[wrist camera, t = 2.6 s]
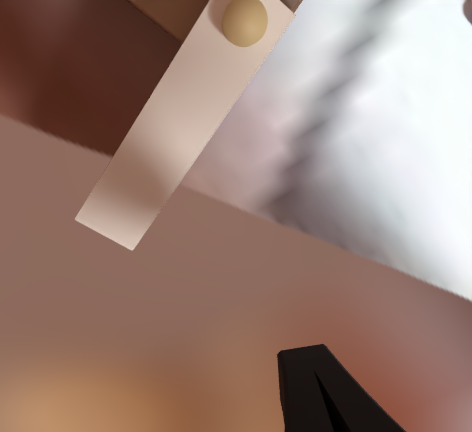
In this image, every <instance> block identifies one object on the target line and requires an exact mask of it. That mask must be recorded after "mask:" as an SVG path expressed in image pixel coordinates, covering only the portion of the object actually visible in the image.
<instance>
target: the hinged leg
mask: <svg viewBox="0 0 472 432" xmlns="http://www.w3.org/2000/svg"><path fill="white" fill-rule="evenodd" d="M295 16H296V15H295V14H294V13H293V12H292V11H291V10H290V9H289V8H288V7H286V6H285V5H284V4H283V3H282V2H281V1H280V0H210V1H209V2H208V4H207V5H206V7H205V9H204V10H203V12H202V14H201V15H200V17H199V18H198V20H197V22H196V23H195V25H194V27H193V28H192V30H191V31H190V33H189V35H188V36H187V38H186V40H185V41H184V43H183V44H182V46H181V48H180V49H179V51H178V52H177V54H176V56H175V57H174V59H173V61H172V62H171V64H170V65H169V67H168V69H167V70H166V72H165V74H164V75H163V77H162V78H161V80H160V82H159V83H158V85H157V87H156V88H155V90H154V91H153V93H152V95H151V96H150V98H149V100H148V101H147V103H146V104H145V106H144V108H143V109H142V111H141V113H140V114H139V116H138V117H137V119H136V121H135V122H134V124H133V125H132V127H131V129H130V130H129V132H128V134H127V135H126V137H125V138H124V140H123V142H122V143H121V145H120V147H119V148H118V150H117V151H116V153H115V155H114V156H113V158H112V160H111V161H110V163H109V164H108V166H107V168H106V169H105V171H104V173H103V174H102V176H101V177H100V179H99V181H98V182H97V184H96V186H95V187H94V189H93V191H92V192H91V194H90V195H89V197H88V199H87V200H86V202H85V203H84V205H83V207H82V208H81V210H80V211H79V213H78V215H77V216H76V218H75V220H76V221H78V222H80V223H82V224H84V225H86V226H87V227H89V228H91V229H93V230H95V231H97V232H99V233H100V234H102V235H104V236H106V237H108V238H110V239H111V240H113V241H115V242H117V243H119V244H121V245H123V246H124V247H126V248H128V249H130V250H132V251H133V250H134V248H135V247H136V245H137V244H138V242H139V241H140V239H141V238H142V237H143V235H144V234H145V232H146V231H147V229H148V228H149V226H150V225H151V224H152V222H153V220H154V219H155V218H156V216H157V215H158V213H159V212H160V211H161V209H162V207H163V206H164V205H165V203H166V202H167V200H168V199H169V198H170V196H171V195H172V193H173V192H174V190H175V189H176V187H177V186H178V185H179V183H180V182H181V180H182V179H183V177H184V176H185V174H186V173H187V172H188V170H189V169H190V167H191V166H192V164H193V163H194V161H195V160H196V159H197V157H198V156H199V154H200V153H201V151H202V150H203V148H204V147H205V146H206V144H207V143H208V141H209V140H210V138H211V137H212V135H213V134H214V133H215V131H216V130H217V128H218V127H219V125H220V124H221V122H222V121H223V120H224V118H225V117H226V115H227V114H228V112H229V111H230V109H231V108H232V107H233V105H234V104H235V102H236V101H237V99H238V98H239V96H240V95H241V94H242V92H243V91H244V89H245V88H246V86H247V85H248V83H249V82H250V81H251V79H252V78H253V76H254V75H255V73H256V72H257V70H258V69H259V68H260V66H261V65H262V63H263V62H264V60H265V59H266V57H267V56H268V55H269V53H270V52H271V50H272V49H273V47H274V46H275V44H276V43H277V42H278V40H279V39H280V37H281V36H282V34H283V33H284V31H285V30H286V29H287V27H288V26H289V24H290V23H291V21H292V20H293V18H294V17H295Z"/></svg>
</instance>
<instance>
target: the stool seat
mask: <svg viewBox="0 0 472 432" xmlns="http://www.w3.org/2000/svg"><path fill="white" fill-rule="evenodd" d="M127 1H129V2H130V3H131V4H132V5H134V6H135V7H136V8H138V9H139V10H140V11H141V12H143V13H144V14H145V15H146V16H148V17H149V18H150V19H151V20H153V21H154V22H155V23H157V24H158V25H159V26H160V27H162V28H163V29H164V30H165V31H167V32H168V33H169V34H171V35H172V36H173V37H174V38H176V39H177V40H178V41H179V42H181V43H182V44H183V43H184V41H185V40H186V38H187V36H188V35H189V33H190V31H191V30H192V28H193V27H194V25H195V23H196V22H197V20H198V18H199V17H200V15H201V14H202V12H203V10H204V9H205V7H206V5H207V4H208V2H209V1H210V0H127ZM280 1H281V2H282V3H283V4H284V5H285V6H286V7H288V8H289V9H290V10H291V11H292V12H293V13H294V12H295V11H296V9H297V8H298V6H299V5H300V3H301V2H302V1H303V0H280Z"/></svg>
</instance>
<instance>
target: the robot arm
mask: <svg viewBox="0 0 472 432" xmlns="http://www.w3.org/2000/svg"><path fill="white" fill-rule="evenodd" d="M277 358H278V371H279V372H278V373H279V388H280V401H281V406H282V411H283V417H284V424H285V432H406V431H405V430H404V429H403V428H402V427H401V426H400V425H399V424H398V423H396V422H395V420H393V419H392V418H391V417H390V416H389V415H388V414H387V413H386V412H385V411H384V410H383V409H382V408H381V406H379V405H378V403H377V402H376V401H375V400H374V399H373V398H372V397H371V396H370V395H369V394H368V393H367V392H366V391H365V390H364V389H363V388H362V387H361V386H360V385H359V384H358V382H357V381H356V380H355V379H354V378H353V377H352V376H351V375H350V374H349V373H348V371H347V370H346V369H345V368H344V367H343V366H342V364H341V363H340V362H339V361H338V360H337V359H336V358H335V356H334V355H333V354H332V353H331V351H330V350H329V349H328V348H327V347H326V346H325V345H324V344H320V345H313V346H307V347H301V348H294V349H289V350H282V351H280V352H279V353H278V354H277Z"/></svg>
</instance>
